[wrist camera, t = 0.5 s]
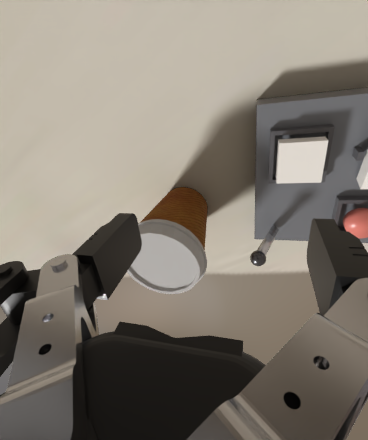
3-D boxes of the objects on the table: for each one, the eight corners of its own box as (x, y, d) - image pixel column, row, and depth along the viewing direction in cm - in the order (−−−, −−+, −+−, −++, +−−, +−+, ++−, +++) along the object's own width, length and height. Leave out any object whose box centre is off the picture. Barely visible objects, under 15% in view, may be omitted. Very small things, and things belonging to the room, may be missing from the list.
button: (345, 207, 26) (349, 213, 25) (380, 207, 25) (384, 214, 24) (340, 231, 28) (343, 237, 27) (372, 232, 27) (376, 238, 26)
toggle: (269, 220, 30) (247, 255, 26) (282, 223, 30) (263, 259, 25) (268, 231, 31) (247, 266, 27) (282, 234, 30) (262, 270, 26)
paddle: (278, 139, 24) (279, 143, 23) (325, 136, 23) (328, 140, 22) (275, 178, 26) (276, 183, 25) (318, 177, 25) (321, 182, 24)
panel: (256, 99, 26) (256, 108, 23) (434, 80, 22) (468, 86, 19) (254, 225, 35) (254, 246, 31) (382, 228, 31) (398, 251, 27)
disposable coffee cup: (177, 161, 32) (143, 211, 23) (233, 206, 34) (224, 269, 24) (142, 207, 38) (102, 262, 28) (191, 243, 39) (171, 308, 30)
